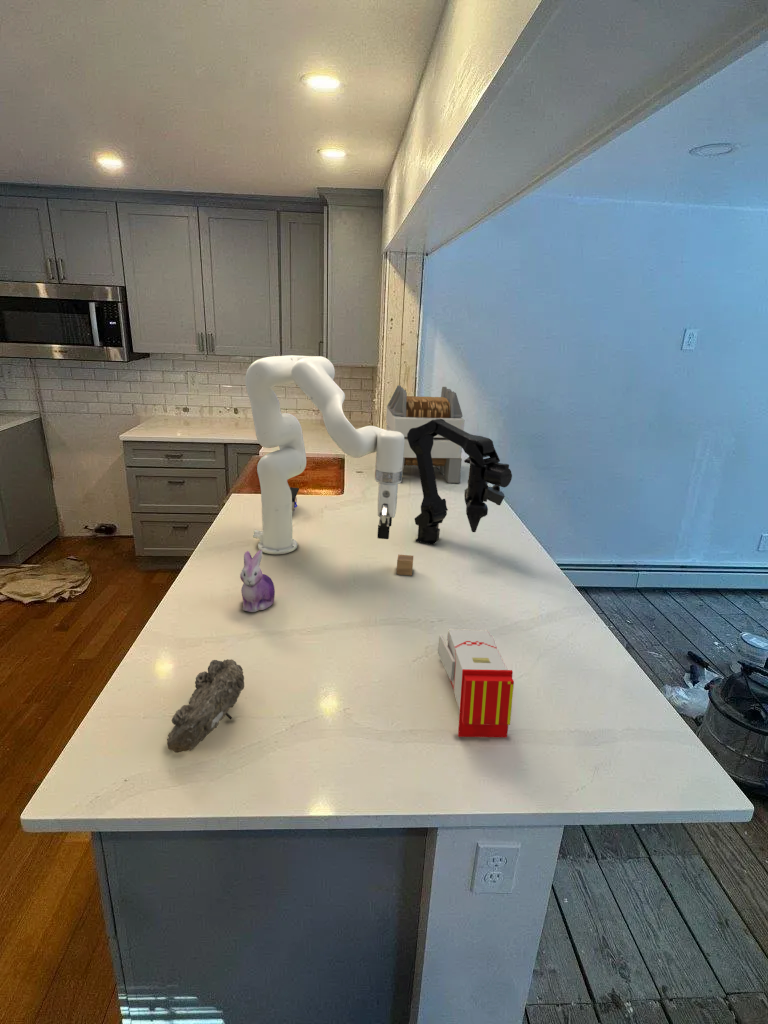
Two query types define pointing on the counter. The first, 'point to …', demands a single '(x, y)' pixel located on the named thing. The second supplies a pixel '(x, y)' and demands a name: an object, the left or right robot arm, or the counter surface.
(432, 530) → the right robot arm
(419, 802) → the counter surface
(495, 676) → the toy
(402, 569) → the brown wooden cube
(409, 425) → the transformer
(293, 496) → the figurine character
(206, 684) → the fossil
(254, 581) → the figurine
